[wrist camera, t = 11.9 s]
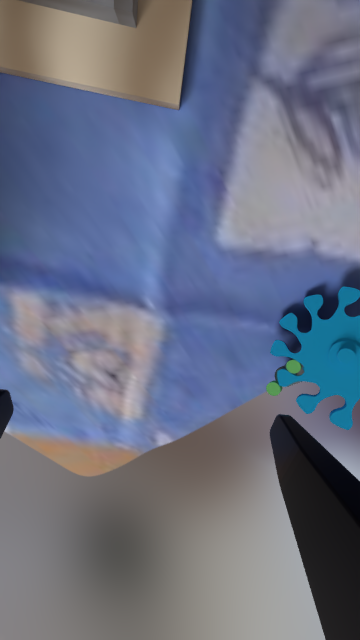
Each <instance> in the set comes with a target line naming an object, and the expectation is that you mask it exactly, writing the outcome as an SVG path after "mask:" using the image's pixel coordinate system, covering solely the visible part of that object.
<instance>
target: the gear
mask: <svg viewBox="0 0 360 640" xmlns="http://www.w3.org/2000/svg"><path fill="white" fill-rule="evenodd" d="M359 297H360V291H359V290H358V289H355V288H351V287H344V286H343V287H342V288H341V289H340V290H339V293H338V308H337V310H336V312H335V313H334V315H333V316H332V317H331V318H330V319H327V320H323V319H320V318H319V317H318V315H317V312H318V311H319V309H320V308H321V307H322V304H323V297H322V296H321V295H311V296H308V297H305V298H304V305H305V307H306V308H307V309H308V311H309V312H310V314H311V317H312V329H311V330H310V331H309V332H308V333H301V332H299V331H298V328H297V326H298V320H297V317H296V316H295V315H294V314H293V313H289V314H287V315H286V316H284V317H283V318H282V319H281V320H280V321H279V323H280V325H281V326H282V327H283V328H284V329H287V330H289V331H291V332H292V333H294V334H295V335H296V336H297V338H298V339H299V341H300V343H301V345H302V349H301V351H300V352H298V353H292V352H290V351H289V349H288V347H287V345H286V344H285V343H284V342H283V341H280V340H275V342H274V343H273V345H272V348H271V352H270V353H271V354H272V355H274V356H286V357H290V358H293V359H295V360H290V361H288V362H287V364H286V365H285V366H282V367H280V368H278V369H277V370H276V372H275V379H276V381H272V382H270V383H269V384H268V385H267V387H266V389H267V392H268V393H269V394H270V395H273V396H276V395H278V394H279V393H280V392H281V390H282V386H283V387H286V386H291V385H293V384H296V383H299V382H302V381H307V382H313V383H316V384H317V385H318V386H319V387H320V392H319V393H318V394H316V395H309V394H301V395H299V396H298V397H297V399H296V401H297V403H298V405H299V407H300V408H301V409H302V410H303V411H304V412H305V413H306V414H309V413H312V412H313V411H314V410H315V408H316V406H317V404H318V403H319V402H320V401H321V400H323V399H324V398H327V397H330V396H333V395H340V396H342V397H343V398H345V405H344V406H343V407H341V408H337V409H334V410H333V411H331V413H330V421H331V422H332V423H333V424H335V425H337V426H339V427H341V428H344V429H346V430H349V429H350V428H351V427H352V424H353V422H352V409H353V407H354V405H355V404H356V402H357V401H358V400H359V399H360V315H359V316H356V317H350V316H348V315H346V314H345V312H344V308H345V307H346V306H348V305H350V304H352V303H354V302H356V301H357V300H358V298H359Z"/></svg>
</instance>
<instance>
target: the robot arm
mask: <svg viewBox="0 0 360 640" xmlns="http://www.w3.org/2000/svg"><path fill="white" fill-rule="evenodd" d="M12 414H13V404H12V400H11V396H10V393H9V391H8V390H3V389H0V438H1V436H2V434H3V432H4V430H5V428H6V426H7V424H8V422H9V420H10V418H11V416H12ZM270 438H271V444H272V449H273V454H274V459H275V465H276V470H277V475H278V479H279V483H280V487H281V491H282V494H283V498H284V501H285V504H286V508H287V511H288V514H289V518H290V521H291V524H292V528H293V531H294V535H295V538H296V541H297V545H298V548H299V551H300V555H301V558H302V562H303V565H304V568H305V572H306V575H307V578H308V582H309V585H310V588H311V592H312V595H313V598H314V601H315V605H316V609H317V612H318V615H319V618H320V622H321V625H322V629H323V632H324V635H325V639H326V640H360V481H359V480H358V479H356V477H355V476H353V475H352V474H351V473H350V472H349V471H348V470H347V469H346V468H345V467H344V466H343V465H342V464H341V463H340V462H339V461H338V460H337V459H335V458H334V457H333V456H332V455H331V454H330V453H329V452H328V451H327V450H326V449H325V448H324V447H323V446H322V445H321V444H320V443H319V442H318V441H317V440H316V439H315V438H313V437H312V436H311V435H310V434H309V433H308V432H307V431H306V430H305V429H304V428H303V427H302V426H301V425H300V424H299V423H298V422H297V421H296V420H295V419H293V418H292V417H291V416H289V415H281V414H279V415H277V416H276V418H275V420H274V423H273V425H272V427H271V429H270Z"/></svg>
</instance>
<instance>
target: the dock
mask: <svg viewBox="0 0 360 640" xmlns="http://www.w3.org/2000/svg"><path fill="white" fill-rule="evenodd" d="M192 1H193V0H0V72H1V73H6V74H11V75H15V76H20V77H25V78H29V79H34V80H39V81H44V82H48V83H53V84H58V85H63V86H67V87H72V88H77V89H81V90H86V91H91V92H96V93H100V94H105V95H110V96H114V97H119V98H124V99H129V100H133V101H138V102H143V103H148V104H152V105H157V106H162V107H166V108H171V109H176V110H179V105H180V97H181V89H182V81H183V73H184V65H185V57H186V49H187V41H188V33H189V25H190V17H191V9H192Z"/></svg>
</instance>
